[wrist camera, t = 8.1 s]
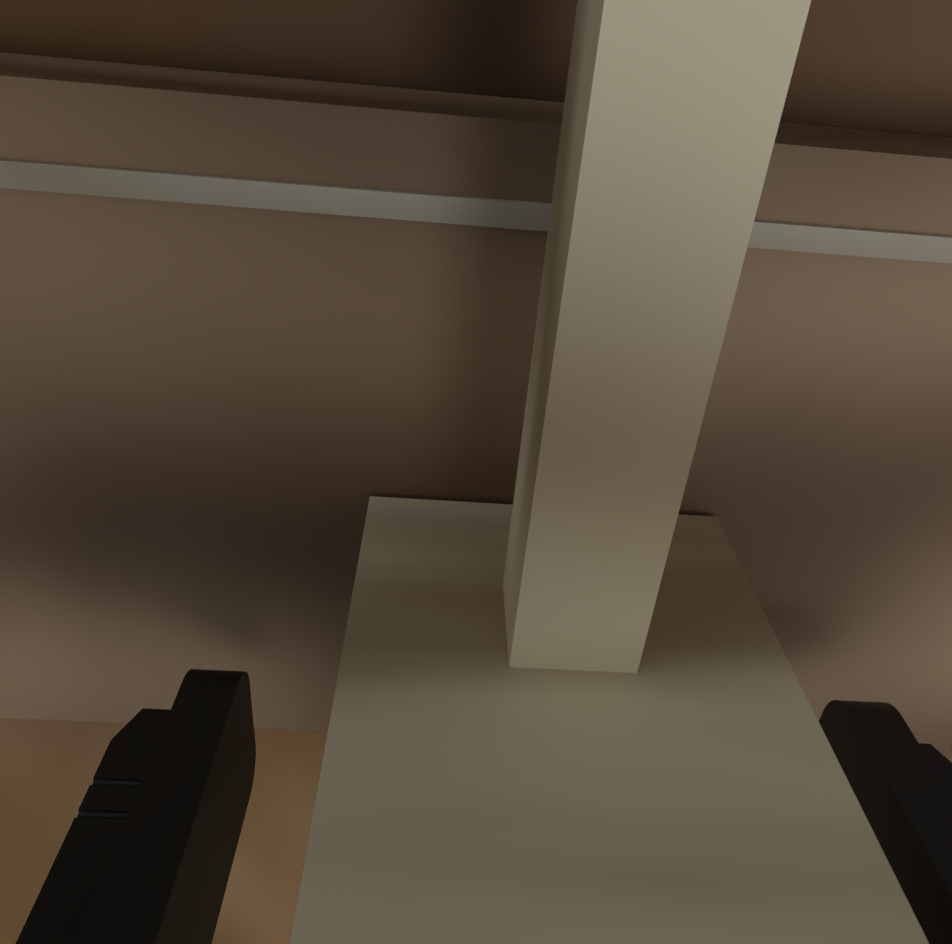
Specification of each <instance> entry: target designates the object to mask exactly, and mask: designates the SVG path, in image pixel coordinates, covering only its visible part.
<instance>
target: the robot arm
mask: <svg viewBox="0 0 952 944" xmlns="http://www.w3.org/2000/svg"><path fill="white" fill-rule="evenodd" d="M819 723H820V725H821V727H822V729H823V731H824V733H825V735H826V737H827V739H828V741H829V743H830V745H831V747H832V749H833V751H834V753H835V755H836V757H837V759H838V761H839V763H840V766H841V768H842V770H843V772H844V774H845V776H846V778H847V780H848V782H849V784H850V786H851V788H852V790H853V792H854V794H855V796H856V798H857V800H858V802H859V804H860V806H861V808H862V810H863V812H864V814H865V816H866V818H867V820H868V822H869V824H870V826H871V828H872V830H873V832H874V834H875V836H876V838H877V840H878V842H879V844H880V846H881V848H882V850H883V852H884V854H885V856H886V858H887V860H888V862H889V864H890V866H891V868H892V870H893V872H894V874H895V876H896V878H897V880H898V882H899V884H900V886H901V888H902V890H903V892H904V894H905V896H906V898H907V900H908V902H909V904H910V906H911V908H912V910H913V912H914V914H915V916H916V918H917V920H918V922H919V924H920V926H921V928H922V930H923V932H924V934H925V936H926V938H927V940H928V942H929V944H952V763H951V762H950V761H949V760H948V759H947V758H946V757H944V756H943V755H942V754H941V753H940V752H939V751H938V750H937V749H936V748H935V747H934V746H932V745H931V744H924V743H918V741H917V740H916V738H915V737H914V735H913V733H912V732H911V730H910V728H909V727H908V725H907V724H906V722H905V720H904V719H903V717H902V715H901V714H900V713H899V711H898V710H897V709H896V708H895V707H894V706H893V705H891V704H889V703H886V702H865V701H843V700H833V701H830V702H829V703H828V704H827V705H826V707H825V708H824V710H823V712H822V715H821V717H820V719H819ZM255 755H256V747H255V735H254V724H253V713H252V702H251V691H250V680H249V675H248V673H247V672H246V671H224V670H201V669H190V670H189V671H188V672H187V673H186V675H185V676H184V679H183V681H182V683H181V686H180V688H179V691H178V693H177V696H176V698H175V701H174V703H173V706H172V708H171V710H170V709H146V708H142V710H141V711H140V712H139V713H138V714H137V715H136V716H135V717H134V718H133V719H132V720H131V721H130V722H129V723H128V724H127V725H126V726H125V727H124V728H123V729H122V730H121V731H120V732H119V733H118V734H117V735H116V736H115V737H114V738H113V739H112V740H111V741H110V743H109V746H108V748H107V750H106V752H105V754H104V756H103V758H102V761H101V763H100V765H99V767H98V769H97V771H96V773H95V776H94V780H93V784H92V785H90V786H89V788H88V791H87V793H86V795H85V797H84V799H83V801H82V803H81V805H80V808H79V814H78V817H77V818H74V820H73V823H72V825H71V827H70V829H69V831H68V833H67V835H66V838H65V840H64V842H63V844H62V846H61V848H60V850H59V853H58V855H57V857H56V859H55V861H54V863H53V865H52V867H51V870H50V872H49V874H48V876H47V878H46V880H45V882H44V885H43V887H42V889H41V891H40V893H39V895H38V897H37V900H36V902H35V904H34V906H33V908H32V910H31V912H30V914H29V917H28V919H27V921H26V923H25V925H24V927H23V929H22V932H21V934H20V936H19V938H18V940H17V942H16V944H211V943H212V939H213V936H214V932H215V928H216V924H217V920H218V916H219V913H220V909H221V905H222V901H223V897H224V893H225V890H226V886H227V882H228V878H229V874H230V870H231V867H232V863H233V859H234V855H235V851H236V847H237V844H238V840H239V836H240V832H241V828H242V824H243V821H244V817H245V813H246V809H247V805H248V801H249V798H250V793H251V789H252V784H253V777H254V769H255Z"/></svg>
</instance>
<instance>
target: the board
mask: <svg viewBox="0 0 952 944" xmlns="http://www.w3.org/2000/svg"><path fill="white" fill-rule="evenodd" d="M563 109H564V103H563V102H552V101H541V100H530V99H519V98H507V97H496V96H485V95H474V94H463V93H451V92H440V91H429V90H418V89H407V88H395V87H384V86H373V85H362V84H351V83H339V82H328V81H317V80H306V79H295V78H283V77H272V76H261V75H250V74H239V73H228V72H216V71H205V70H194V69H183V68H172V67H160V66H149V65H138V64H127V63H116V62H104V61H93V60H82V59H71V58H60V57H48V56H37V55H26V54H15V53H4V52H0V718H7V719H32V720H56V721H80V722H105V723H129V722H130V721H131V720H132V719H133V718H134V717H135V716H136V715H137V714H138V713H139V712H140V711H141V710H142V708H146V709H170V710H171V708H172V706H173V703H174V701H175V698H176V696H177V693H178V691H179V688H180V686H181V683H182V681H183V679H184V676H185V675H186V673H187V672H188V671H189V670H190V669H201V670H224V671H246V672H247V673H248V675H249V680H250V691H251V702H252V713H253V724H254V729H275V730H300V731H324V732H328V728H329V722H330V717H331V711H332V705H333V700H334V694H335V689H336V683H337V677H338V672H339V666H340V660H341V655H342V649H343V644H344V638H345V632H346V627H347V621H348V615H349V610H350V604H351V599H352V593H353V587H354V582H355V576H356V570H357V565H358V559H359V554H360V548H361V542H362V537H363V531H364V525H365V520H366V514H367V509H368V503H369V497H370V496H375V497H392V498H409V499H426V500H443V501H460V502H477V503H494V504H512V505H513V500H514V492H515V485H516V477H517V469H518V461H519V453H520V446H521V438H522V430H523V422H524V414H525V406H526V399H527V391H528V383H529V375H530V367H531V359H532V352H533V344H534V336H535V328H536V320H537V312H538V305H539V297H540V289H541V281H542V273H543V265H544V258H545V250H546V242H547V234H548V226H549V219H550V211H551V203H552V195H553V187H554V179H555V172H556V164H557V156H558V148H559V140H560V132H561V125H562V117H563ZM678 514H682V515H699V516H716V517H717V518H718V520H719V522H720V524H721V526H722V528H723V530H724V533H725V535H726V537H727V539H728V541H729V543H730V545H731V547H732V549H733V551H734V553H735V555H736V557H737V559H738V561H739V563H740V565H741V567H742V569H743V571H744V573H745V575H746V577H747V579H748V581H749V583H750V585H751V587H752V589H753V591H754V593H755V595H756V597H757V599H758V601H759V603H760V605H761V607H762V609H763V611H764V613H765V615H766V617H767V619H768V621H769V623H770V625H771V627H772V629H773V631H774V633H775V635H776V637H777V639H778V641H779V643H780V645H781V647H782V649H783V651H784V653H785V655H786V657H787V659H788V661H789V663H790V665H791V667H792V669H793V671H794V673H795V675H796V677H797V679H798V681H799V683H800V685H801V687H802V689H803V691H804V693H805V695H806V697H807V699H808V701H809V703H810V705H811V707H812V709H813V711H814V713H815V715H816V717H817V719H818V721H819V719H820V717H821V715H822V712H823V710H824V708H825V707H826V705H827V704H828V703H829V702H830V701H833V700H843V701H865V702H886V703H889V704H891V705H893V706H894V707H895V708H896V709H897V710H898V711H899V713H900V714H901V715H902V717H903V719H904V720H905V722H906V724H907V725H908V727H909V728H910V730H911V732H912V733H913V735H914V737H915V738H916V740H917V741H918V743H924V744H931V745H932V746H934V747H935V748H936V749H937V750H938V751H939V752H940V753H941V754H942V755H943V756H944V757H945V756H946V754H947V752H948V751H949V749H950V747H951V745H952V137H944V136H933V135H922V134H910V133H899V132H888V131H877V130H866V129H854V128H843V127H832V126H821V125H810V124H799V123H787V122H780V123H779V127H778V131H777V135H776V138H775V142H774V146H773V150H772V154H771V158H770V162H769V165H768V169H767V173H766V177H765V181H764V185H763V189H762V193H761V196H760V200H759V204H758V208H757V212H756V216H755V220H754V223H753V227H752V231H751V235H750V239H749V243H748V247H747V250H746V254H745V258H744V262H743V266H742V270H741V274H740V278H739V281H738V285H737V289H736V293H735V297H734V301H733V305H732V308H731V312H730V316H729V320H728V324H727V328H726V332H725V336H724V339H723V343H722V347H721V351H720V355H719V359H718V363H717V366H716V370H715V374H714V378H713V382H712V386H711V390H710V393H709V397H708V401H707V405H706V409H705V413H704V417H703V421H702V424H701V428H700V432H699V436H698V440H697V444H696V448H695V451H694V455H693V459H692V463H691V467H690V471H689V475H688V479H687V482H686V486H685V490H684V494H683V498H682V502H681V506H680V509H679V513H678Z"/></svg>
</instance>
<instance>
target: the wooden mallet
mask: <svg viewBox="0 0 952 944" xmlns="http://www.w3.org/2000/svg"><path fill="white" fill-rule="evenodd" d="M810 3H811V0H577V7H576V15H575V23H574V31H573V38H572V46H571V54H570V62H569V70H568V78H567V85H566V93H565V101H564V109H563V117H562V125H561V132H560V140H559V148H558V156H557V164H556V172H555V179H554V187H553V195H552V203H551V211H550V219H549V226H548V234H547V242H546V250H545V258H544V265H543V273H542V281H541V289H540V297H539V305H538V312H537V320H536V328H535V336H534V344H533V352H532V359H531V367H530V375H529V383H528V391H527V399H526V406H525V414H524V422H523V430H522V438H521V446H520V453H519V461H518V469H517V477H516V485H515V492H514V500H513V505H512V504H494V503H477V502H460V501H443V500H426V499H409V498H392V497H375V496H370V497H369V503H368V509H367V514H366V520H365V525H364V531H363V537H362V542H361V548H360V554H359V559H358V565H357V570H356V576H355V582H354V587H353V593H352V599H351V604H350V610H349V615H348V621H347V627H346V632H345V638H344V644H343V649H342V655H341V660H340V666H339V672H338V677H337V683H336V689H335V694H334V700H333V705H332V711H331V717H330V722H329V728H328V733H327V739H326V745H325V750H324V756H323V762H322V767H321V773H320V778H319V784H318V790H317V795H316V801H315V807H314V812H313V818H312V823H311V829H310V835H309V840H308V846H307V852H306V857H305V863H304V868H303V874H302V880H301V885H300V891H299V897H298V902H297V908H296V913H295V919H294V925H293V930H292V936H291V942H290V944H929V942H928V940H927V938H926V936H925V934H924V932H923V930H922V928H921V926H920V924H919V922H918V920H917V918H916V916H915V914H914V912H913V910H912V908H911V906H910V904H909V902H908V900H907V898H906V896H905V894H904V892H903V890H902V888H901V886H900V884H899V882H898V880H897V878H896V876H895V874H894V872H893V870H892V868H891V866H890V864H889V862H888V860H887V858H886V856H885V854H884V852H883V850H882V848H881V846H880V844H879V842H878V840H877V838H876V836H875V834H874V832H873V830H872V828H871V826H870V824H869V822H868V820H867V818H866V816H865V814H864V812H863V810H862V808H861V806H860V804H859V802H858V800H857V798H856V796H855V794H854V792H853V790H852V788H851V786H850V784H849V782H848V780H847V778H846V776H845V774H844V772H843V770H842V768H841V766H840V763H839V761H838V759H837V757H836V755H835V753H834V751H833V749H832V747H831V745H830V743H829V741H828V739H827V737H826V735H825V733H824V731H823V729H822V727H821V725H820V723H819V721H818V719H817V717H816V715H815V713H814V711H813V709H812V707H811V705H810V703H809V701H808V699H807V697H806V695H805V693H804V691H803V689H802V687H801V685H800V683H799V681H798V679H797V677H796V675H795V673H794V671H793V669H792V667H791V665H790V663H789V661H788V659H787V657H786V655H785V653H784V651H783V649H782V647H781V645H780V643H779V641H778V639H777V637H776V635H775V633H774V631H773V629H772V627H771V625H770V623H769V621H768V619H767V617H766V615H765V613H764V611H763V609H762V607H761V605H760V603H759V601H758V599H757V597H756V595H755V593H754V591H753V589H752V587H751V585H750V583H749V581H748V579H747V577H746V575H745V573H744V571H743V569H742V567H741V565H740V563H739V561H738V559H737V557H736V555H735V553H734V551H733V549H732V547H731V545H730V543H729V541H728V539H727V537H726V535H725V533H724V530H723V528H722V526H721V524H720V522H719V520H718V518H717V517H716V516H699V515H682V514H678V513H679V509H680V506H681V502H682V498H683V494H684V490H685V486H686V482H687V479H688V475H689V471H690V467H691V463H692V459H693V455H694V451H695V448H696V444H697V440H698V436H699V432H700V428H701V424H702V421H703V417H704V413H705V409H706V405H707V401H708V397H709V393H710V390H711V386H712V382H713V378H714V374H715V370H716V366H717V363H718V359H719V355H720V351H721V347H722V343H723V339H724V336H725V332H726V328H727V324H728V320H729V316H730V312H731V308H732V305H733V301H734V297H735V293H736V289H737V285H738V281H739V278H740V274H741V270H742V266H743V262H744V258H745V254H746V250H747V247H748V243H749V239H750V235H751V231H752V227H753V223H754V220H755V216H756V212H757V208H758V204H759V200H760V196H761V193H762V189H763V185H764V181H765V177H766V173H767V169H768V165H769V162H770V158H771V154H772V150H773V146H774V142H775V138H776V135H777V131H778V127H779V123H780V119H781V115H782V111H783V107H784V104H785V100H786V96H787V92H788V88H789V84H790V80H791V77H792V73H793V69H794V65H795V61H796V57H797V53H798V50H799V46H800V42H801V38H802V34H803V30H804V26H805V22H806V19H807V15H808V11H809V7H810Z"/></svg>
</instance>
